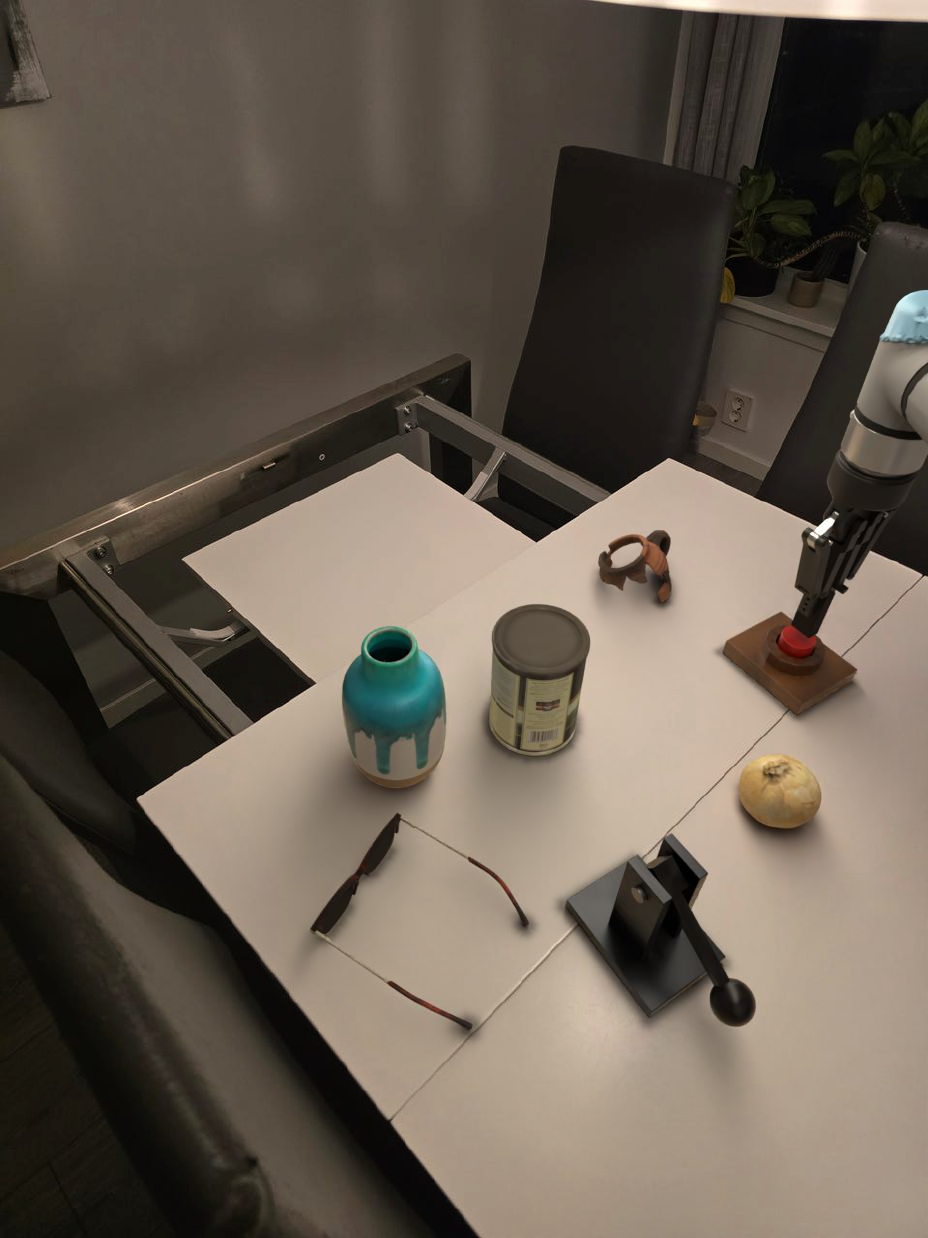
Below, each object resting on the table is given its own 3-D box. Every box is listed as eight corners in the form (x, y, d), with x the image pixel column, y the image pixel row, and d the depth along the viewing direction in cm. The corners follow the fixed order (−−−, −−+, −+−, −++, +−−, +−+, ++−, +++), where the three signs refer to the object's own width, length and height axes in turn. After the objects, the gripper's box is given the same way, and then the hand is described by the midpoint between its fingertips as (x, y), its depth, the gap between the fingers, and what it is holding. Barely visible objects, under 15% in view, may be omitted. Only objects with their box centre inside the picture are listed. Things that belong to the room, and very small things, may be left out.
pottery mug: (659, 621, 104) (635, 578, 100) (602, 613, 111) (578, 572, 107) (699, 557, 109) (678, 513, 104) (642, 553, 116) (620, 512, 111)
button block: (851, 681, 96) (863, 659, 93) (796, 715, 92) (807, 693, 90) (776, 622, 103) (785, 600, 101) (722, 652, 100) (729, 630, 97)
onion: (775, 765, 87) (794, 726, 82) (827, 822, 82) (851, 784, 77) (718, 791, 85) (734, 752, 80) (767, 851, 80) (788, 814, 75)
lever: (746, 1008, 66) (773, 1013, 63) (715, 1033, 65) (741, 1039, 61) (660, 853, 69) (681, 850, 65) (629, 873, 67) (649, 872, 64)
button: (818, 650, 95) (823, 640, 94) (796, 663, 93) (800, 653, 92) (792, 630, 97) (797, 620, 96) (770, 643, 96) (774, 633, 95)
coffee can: (538, 674, 97) (548, 590, 87) (594, 729, 91) (611, 646, 81) (470, 711, 92) (472, 627, 83) (524, 772, 86) (532, 689, 77)
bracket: (722, 962, 72) (761, 898, 63) (649, 1018, 68) (678, 958, 59) (635, 860, 79) (658, 789, 70) (565, 906, 76) (579, 837, 67)
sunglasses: (397, 834, 81) (397, 809, 77) (534, 916, 76) (541, 894, 72) (313, 949, 72) (308, 927, 69) (461, 1050, 67) (465, 1032, 64)
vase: (342, 738, 90) (322, 619, 76) (431, 715, 92) (427, 596, 78) (363, 815, 82) (345, 700, 69) (459, 789, 85) (460, 672, 71)
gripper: (887, 423, 81) (815, 591, 98) (802, 459, 76) (741, 630, 93) (953, 456, 77) (865, 627, 93) (868, 498, 72) (791, 670, 88)
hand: (803, 629), depth 93 cm, fingers closed
